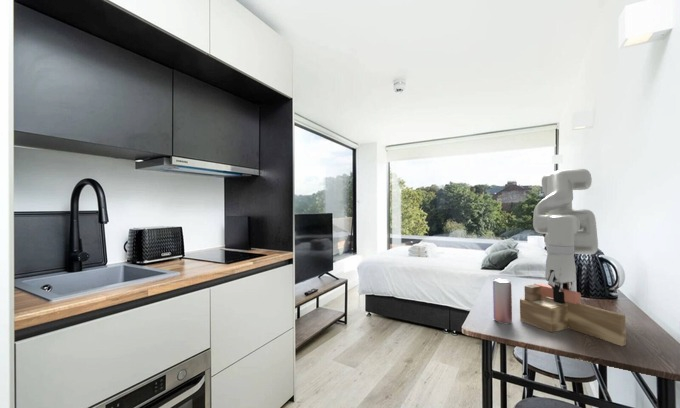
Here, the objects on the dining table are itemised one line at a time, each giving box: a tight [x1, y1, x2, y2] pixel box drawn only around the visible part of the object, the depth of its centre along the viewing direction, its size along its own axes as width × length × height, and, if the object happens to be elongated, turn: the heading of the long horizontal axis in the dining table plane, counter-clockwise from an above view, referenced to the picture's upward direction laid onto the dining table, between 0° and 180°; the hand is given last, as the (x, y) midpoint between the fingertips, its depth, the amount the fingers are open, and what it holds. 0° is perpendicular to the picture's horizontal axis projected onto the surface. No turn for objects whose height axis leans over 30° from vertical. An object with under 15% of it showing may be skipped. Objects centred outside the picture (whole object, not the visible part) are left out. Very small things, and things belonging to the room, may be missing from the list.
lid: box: [524, 284, 565, 307], centre depth 104 cm, size 11×9×6 cm
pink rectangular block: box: [533, 282, 582, 304], centre depth 104 cm, size 3×14×4 cm, turn 23°
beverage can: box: [492, 278, 513, 325], centre depth 107 cm, size 6×6×15 cm
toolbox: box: [519, 295, 627, 347], centre depth 98 cm, size 13×26×12 cm, turn 23°
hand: (562, 301), depth 103 cm, fingers closed on pink rectangular block, 3 cm apart
